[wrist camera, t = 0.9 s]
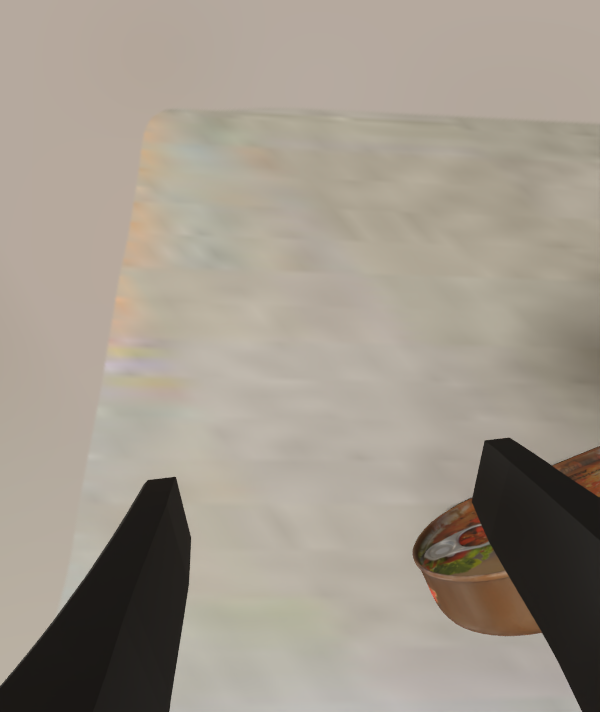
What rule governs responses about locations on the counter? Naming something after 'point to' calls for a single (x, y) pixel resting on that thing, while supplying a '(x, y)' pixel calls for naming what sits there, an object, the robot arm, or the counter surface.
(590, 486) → the tin
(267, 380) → the counter surface
